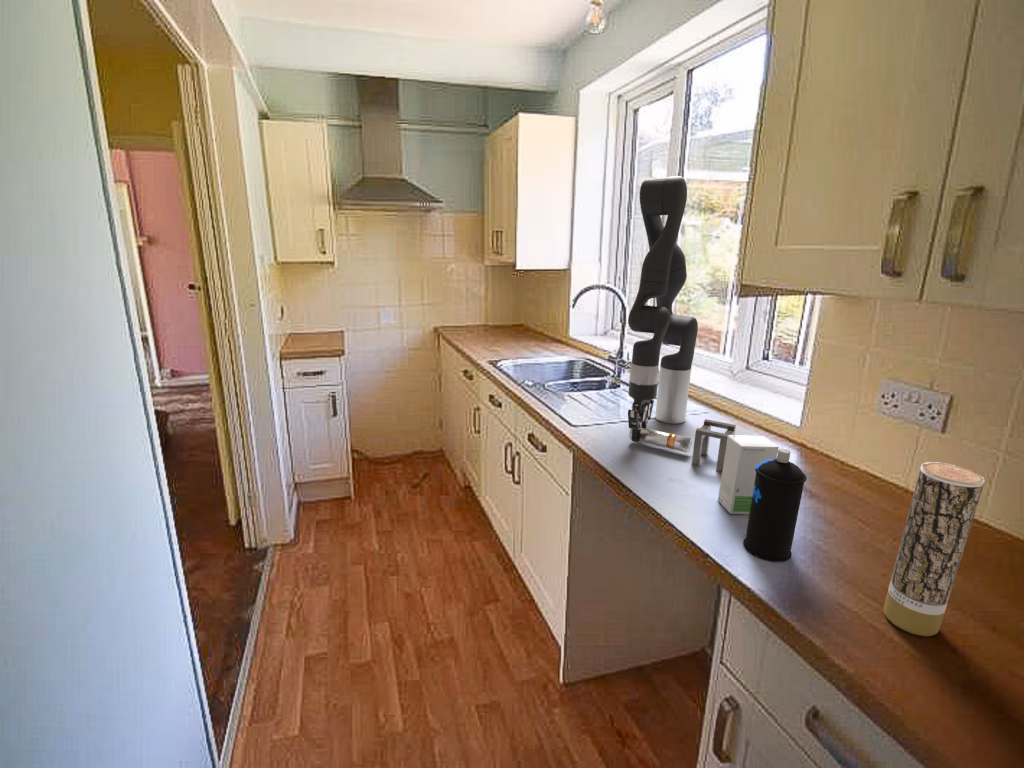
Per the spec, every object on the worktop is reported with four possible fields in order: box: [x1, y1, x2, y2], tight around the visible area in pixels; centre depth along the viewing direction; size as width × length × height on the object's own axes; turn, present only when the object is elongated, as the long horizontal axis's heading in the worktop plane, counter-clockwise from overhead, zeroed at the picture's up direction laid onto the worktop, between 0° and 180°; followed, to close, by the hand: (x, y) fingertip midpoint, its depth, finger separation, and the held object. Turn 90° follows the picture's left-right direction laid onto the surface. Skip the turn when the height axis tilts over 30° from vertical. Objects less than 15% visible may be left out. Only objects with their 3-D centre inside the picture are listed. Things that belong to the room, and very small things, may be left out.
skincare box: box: [717, 434, 780, 515], centre depth 107 cm, size 8×7×16 cm
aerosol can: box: [742, 448, 807, 563], centre depth 92 cm, size 8×8×20 cm
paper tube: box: [883, 461, 985, 637], centre depth 74 cm, size 7×7×25 cm
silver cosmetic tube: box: [628, 427, 693, 453], centre depth 138 cm, size 16×4×4 cm, turn 56°
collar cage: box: [691, 418, 737, 473], centre depth 130 cm, size 10×8×10 cm
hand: (638, 438), depth 142 cm, fingers closed on silver cosmetic tube, 4 cm apart
